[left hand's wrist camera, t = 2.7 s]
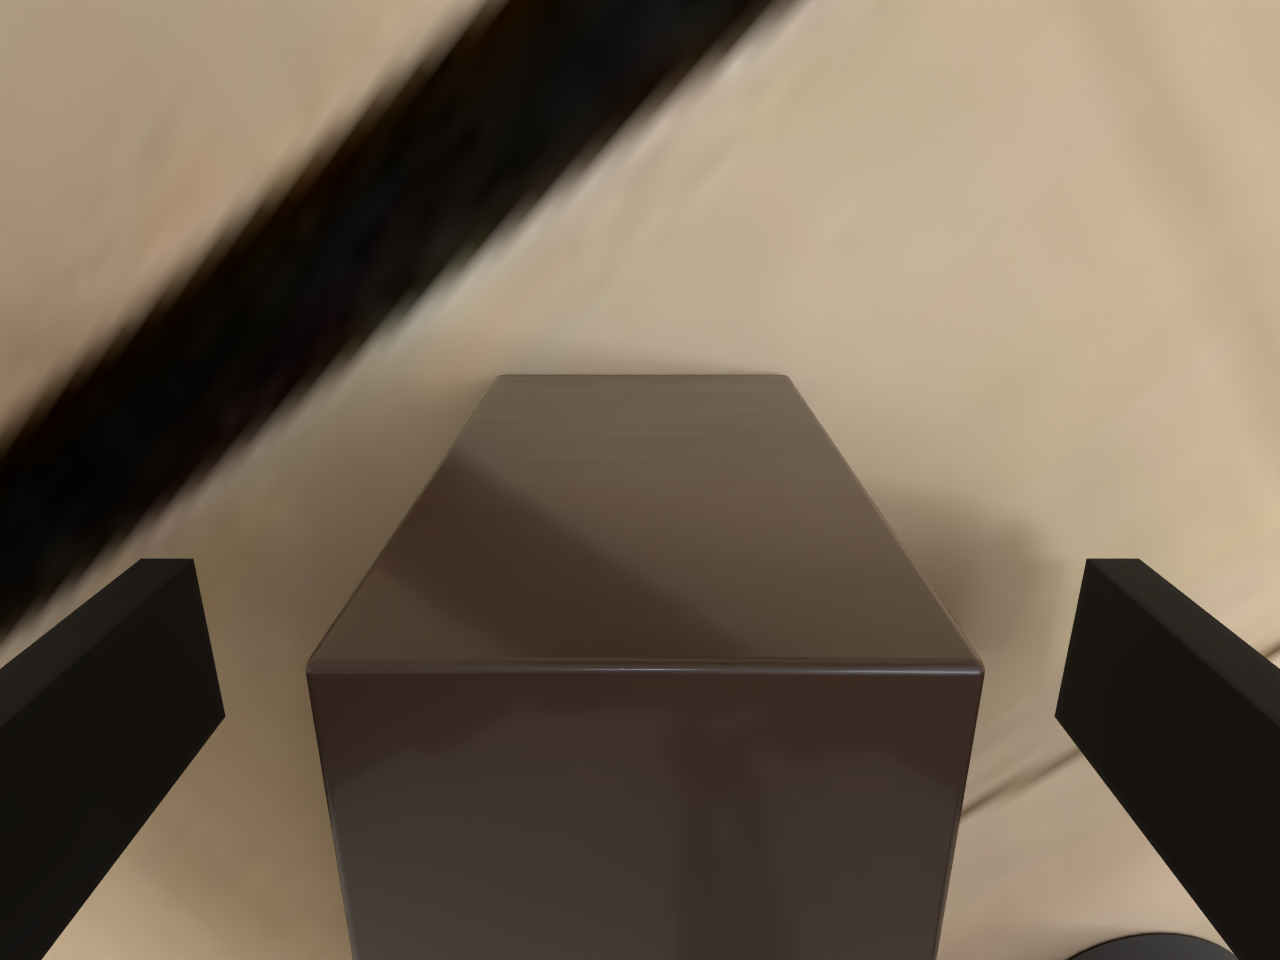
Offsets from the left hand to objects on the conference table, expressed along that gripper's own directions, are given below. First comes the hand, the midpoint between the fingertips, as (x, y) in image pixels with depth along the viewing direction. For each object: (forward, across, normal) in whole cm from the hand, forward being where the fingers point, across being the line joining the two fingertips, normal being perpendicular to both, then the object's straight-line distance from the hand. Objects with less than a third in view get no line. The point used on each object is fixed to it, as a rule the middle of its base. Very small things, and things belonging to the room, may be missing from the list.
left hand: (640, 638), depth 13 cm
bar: (+2, 0, -8) cm, 9 cm away
